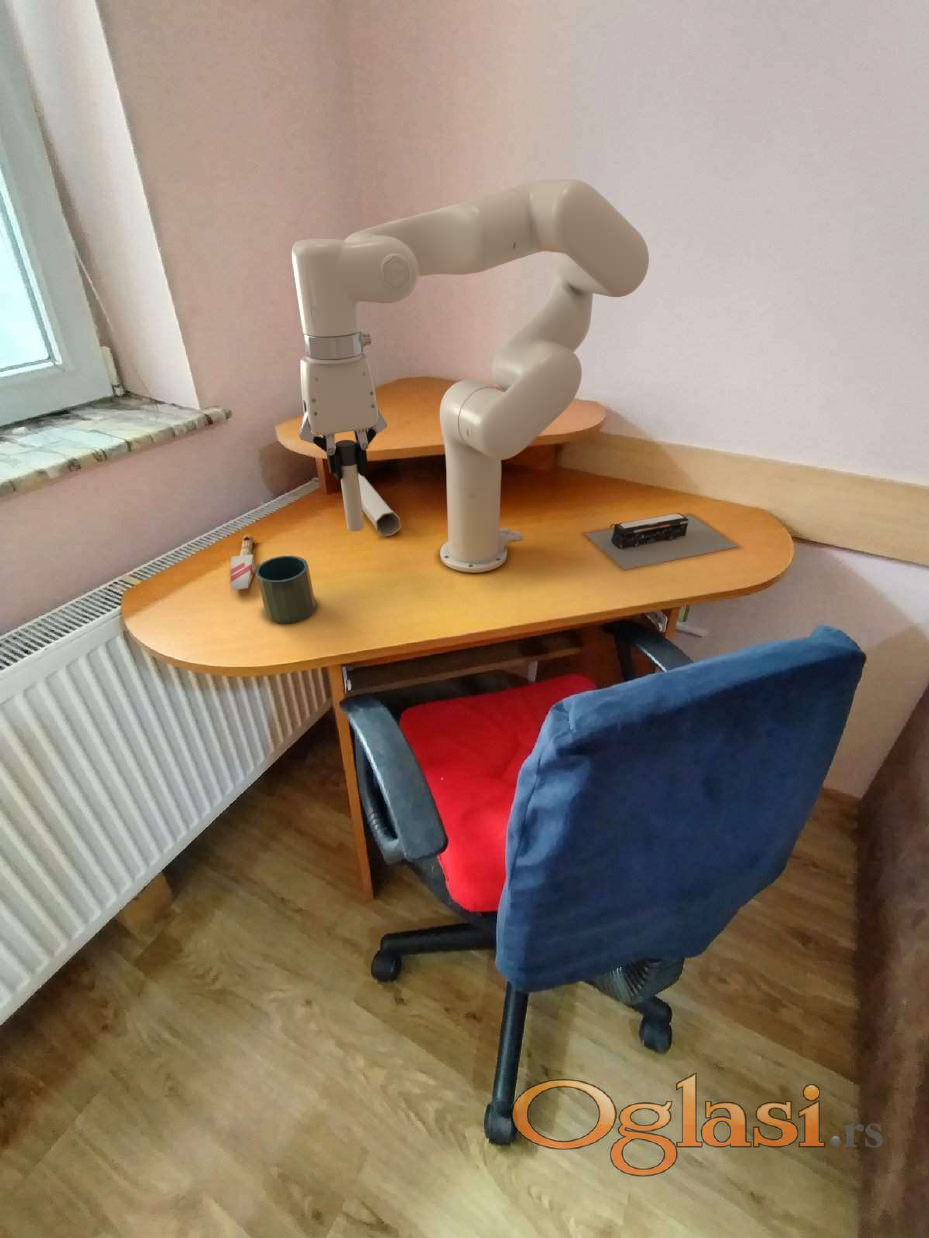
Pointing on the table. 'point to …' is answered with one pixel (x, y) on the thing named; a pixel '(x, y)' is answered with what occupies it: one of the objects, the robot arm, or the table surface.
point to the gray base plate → (658, 540)
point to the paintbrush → (243, 565)
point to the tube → (378, 510)
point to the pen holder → (286, 589)
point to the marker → (350, 484)
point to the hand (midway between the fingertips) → (349, 473)
